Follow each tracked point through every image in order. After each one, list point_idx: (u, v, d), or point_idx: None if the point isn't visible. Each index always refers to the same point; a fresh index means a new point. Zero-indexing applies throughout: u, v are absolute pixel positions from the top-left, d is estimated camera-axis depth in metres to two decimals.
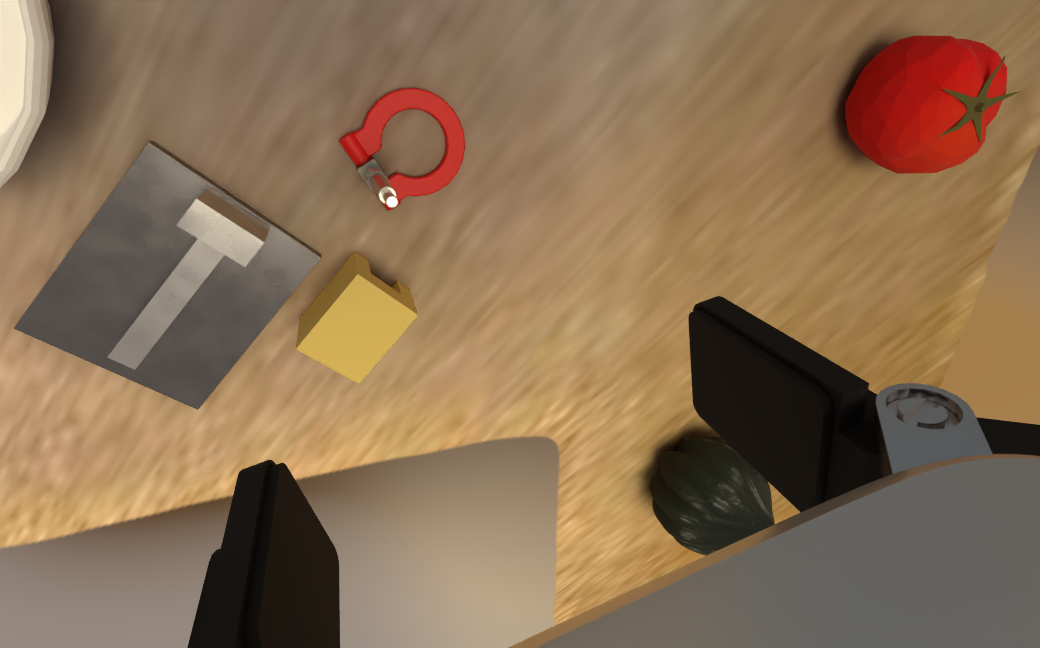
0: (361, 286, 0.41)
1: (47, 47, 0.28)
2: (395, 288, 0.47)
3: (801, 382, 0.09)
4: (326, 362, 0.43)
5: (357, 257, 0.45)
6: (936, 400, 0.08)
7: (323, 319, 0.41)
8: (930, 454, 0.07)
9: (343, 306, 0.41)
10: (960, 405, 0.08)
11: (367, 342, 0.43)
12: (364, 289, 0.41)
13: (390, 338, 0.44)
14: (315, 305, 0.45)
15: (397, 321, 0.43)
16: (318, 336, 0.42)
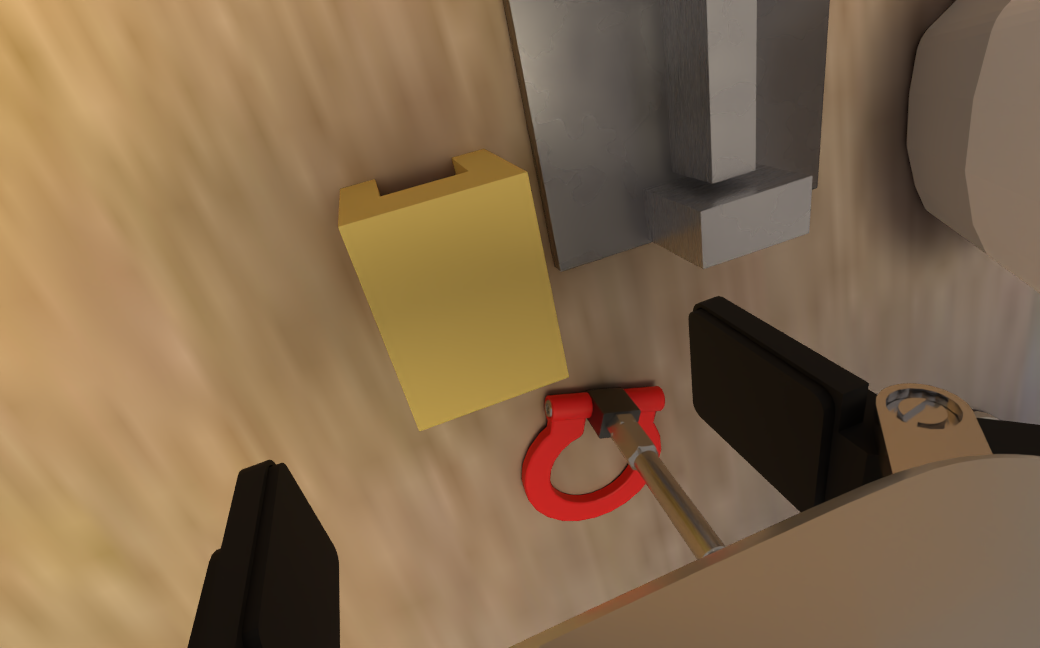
0: (545, 370, 0.20)
1: None
2: None
3: (801, 382, 0.09)
4: (450, 203, 0.16)
5: None
6: (936, 400, 0.08)
7: (540, 270, 0.18)
8: (930, 454, 0.07)
9: (537, 320, 0.19)
10: (960, 405, 0.08)
11: (432, 313, 0.17)
12: (537, 371, 0.20)
13: (407, 359, 0.18)
14: None
15: (434, 390, 0.19)
16: (517, 235, 0.17)
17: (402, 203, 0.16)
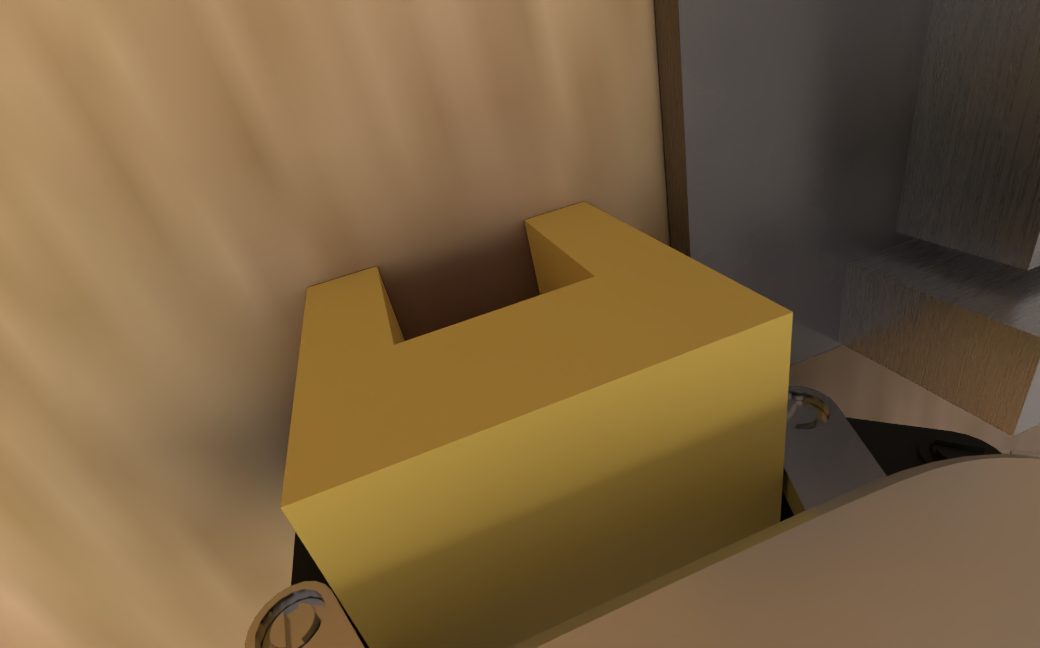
0: None
1: None
2: None
3: None
4: (596, 408, 0.06)
5: None
6: (802, 398, 0.09)
7: (767, 509, 0.08)
8: (815, 454, 0.08)
9: None
10: (824, 401, 0.08)
11: (525, 635, 0.07)
12: None
13: None
14: None
15: None
16: (739, 451, 0.07)
17: (462, 402, 0.06)
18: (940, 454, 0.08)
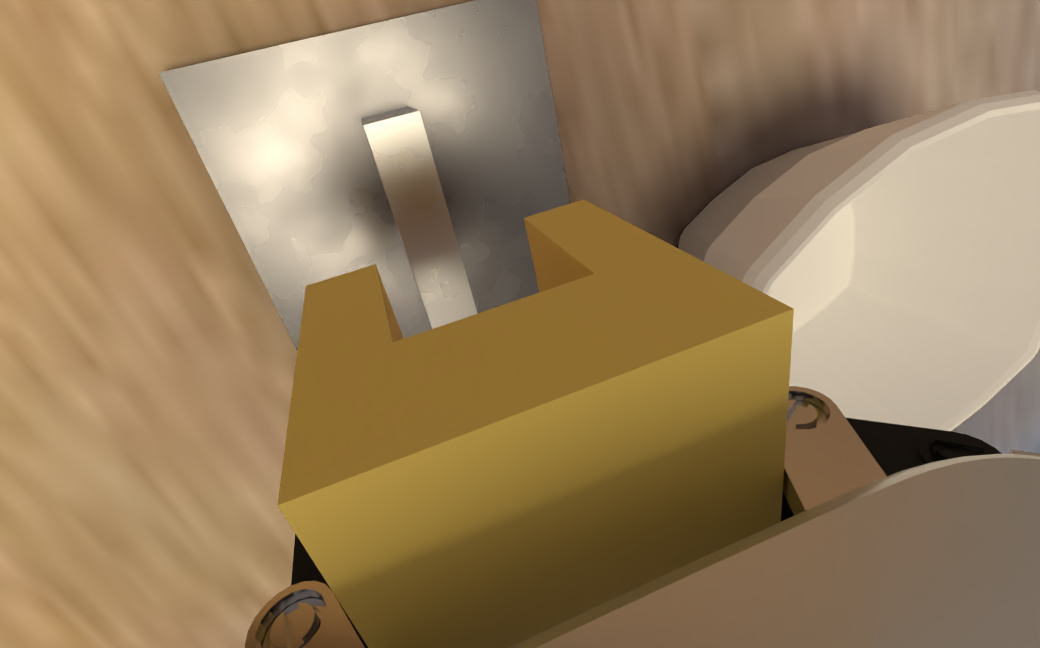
0: None
1: None
2: None
3: None
4: (596, 405, 0.06)
5: None
6: (802, 398, 0.09)
7: (769, 507, 0.08)
8: (815, 454, 0.08)
9: None
10: (824, 401, 0.08)
11: (524, 633, 0.07)
12: None
13: None
14: None
15: None
16: (739, 449, 0.07)
17: (461, 399, 0.06)
18: (940, 454, 0.08)
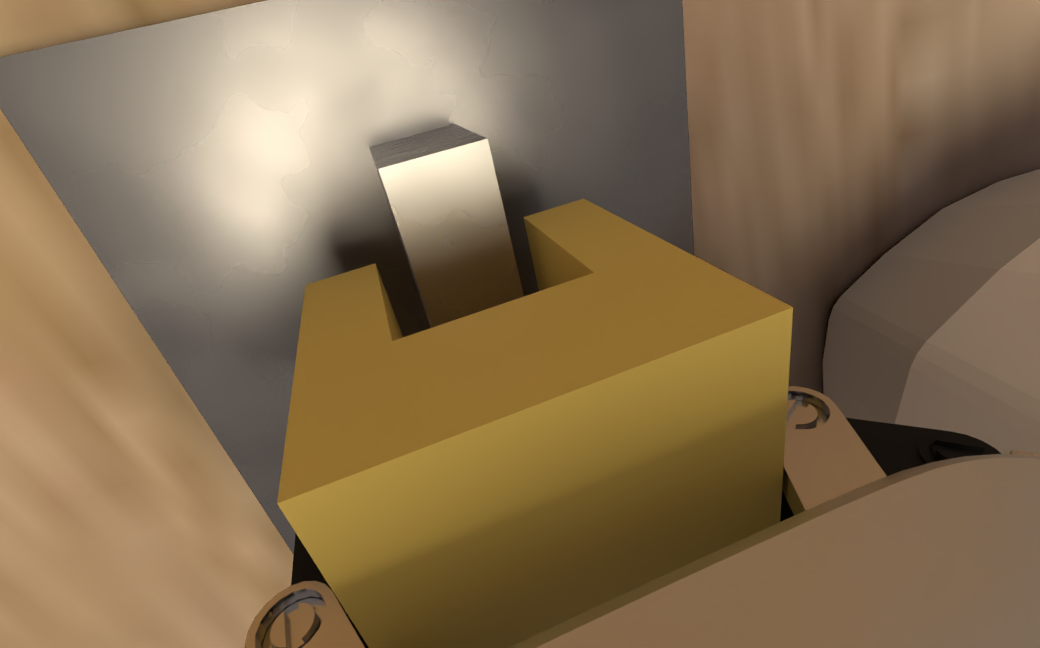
0: None
1: None
2: None
3: None
4: (595, 403, 0.06)
5: None
6: (802, 398, 0.09)
7: (768, 506, 0.08)
8: (815, 454, 0.08)
9: None
10: (824, 401, 0.08)
11: (523, 631, 0.07)
12: None
13: None
14: None
15: None
16: (738, 448, 0.07)
17: (461, 398, 0.06)
18: (940, 454, 0.08)
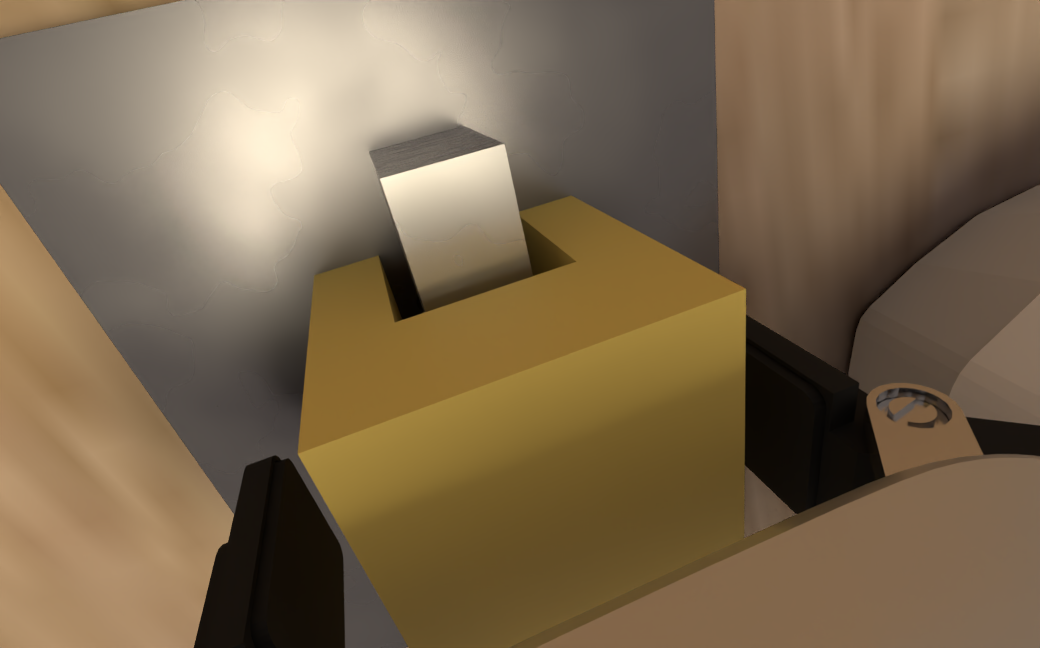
0: None
1: None
2: None
3: (793, 381, 0.09)
4: (571, 372, 0.07)
5: None
6: (926, 399, 0.08)
7: (732, 471, 0.09)
8: (921, 453, 0.07)
9: (709, 553, 0.09)
10: (949, 404, 0.08)
11: (512, 580, 0.08)
12: None
13: None
14: None
15: None
16: (702, 415, 0.08)
17: (455, 368, 0.07)
18: None
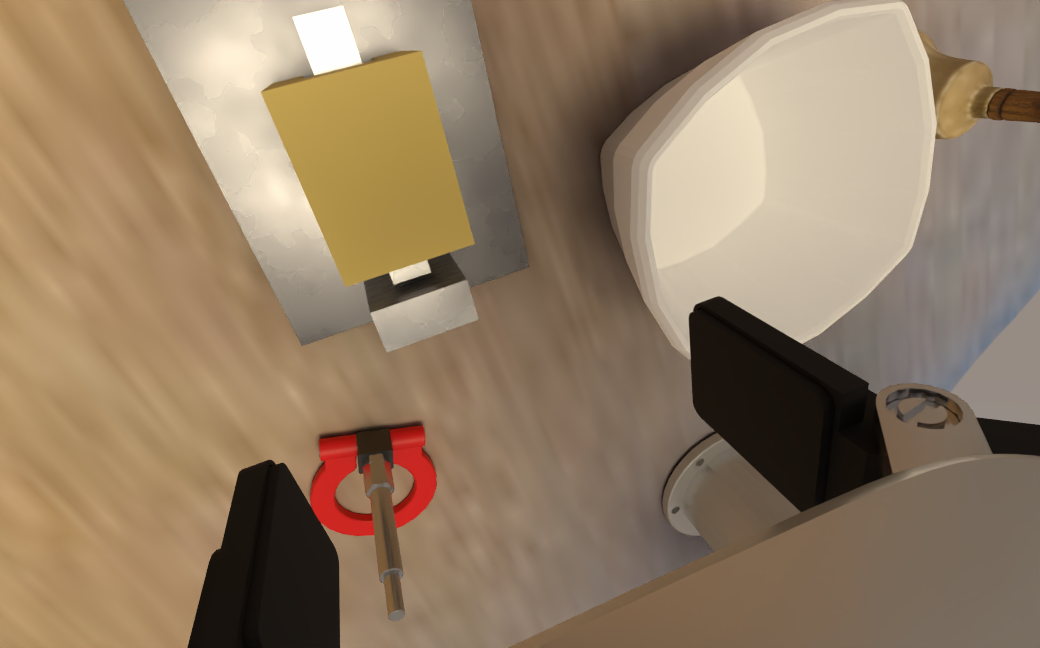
0: (453, 236, 0.23)
1: (671, 343, 0.28)
2: None
3: (801, 382, 0.09)
4: (356, 76, 0.19)
5: None
6: (936, 400, 0.08)
7: (441, 141, 0.21)
8: (930, 454, 0.07)
9: (442, 188, 0.22)
10: (960, 405, 0.08)
11: (348, 176, 0.21)
12: (446, 237, 0.23)
13: (330, 218, 0.21)
14: None
15: (356, 249, 0.22)
16: (418, 108, 0.20)
17: (316, 76, 0.19)
18: None
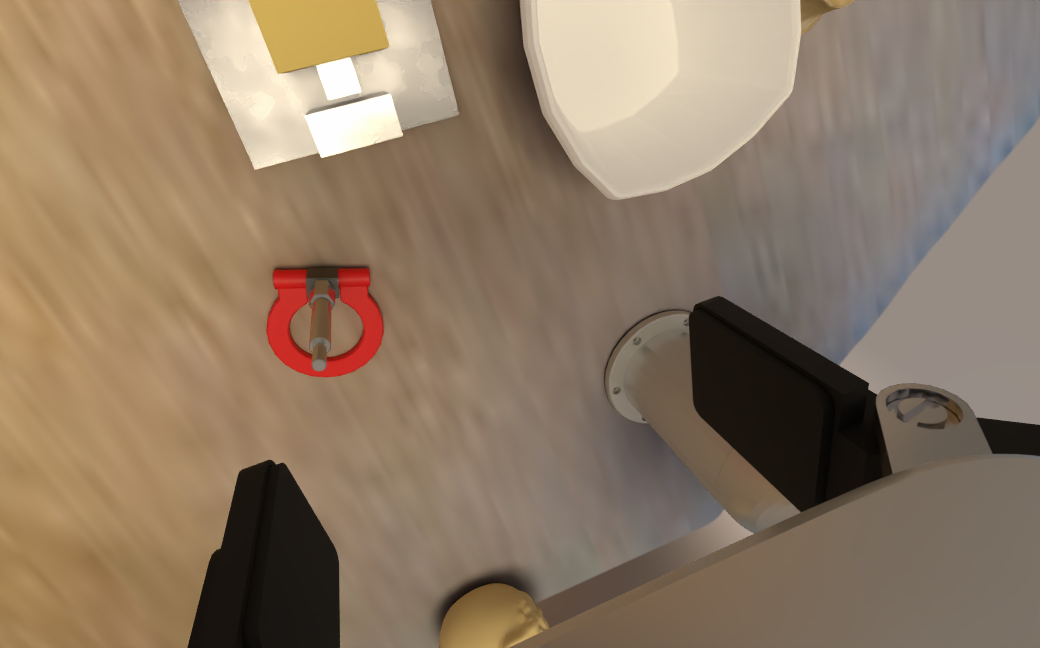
0: (370, 36, 0.28)
1: (572, 162, 0.32)
2: None
3: (801, 382, 0.09)
4: None
5: None
6: (936, 400, 0.08)
7: None
8: (930, 454, 0.07)
9: None
10: (960, 406, 0.08)
11: None
12: (363, 36, 0.28)
13: (261, 4, 0.26)
14: None
15: (285, 37, 0.27)
16: None
17: None
18: None
